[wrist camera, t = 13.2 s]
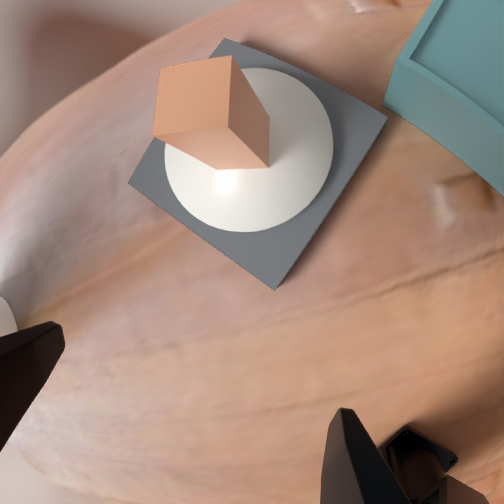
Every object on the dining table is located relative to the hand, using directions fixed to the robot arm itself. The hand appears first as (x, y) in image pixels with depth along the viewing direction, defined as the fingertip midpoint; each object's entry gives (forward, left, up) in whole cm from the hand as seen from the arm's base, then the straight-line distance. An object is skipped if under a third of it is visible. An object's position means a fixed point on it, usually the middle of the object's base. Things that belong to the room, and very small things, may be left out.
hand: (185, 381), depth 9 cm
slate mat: (+6, -7, -12) cm, 15 cm away
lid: (+6, -7, -10) cm, 14 cm away
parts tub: (-5, -20, -12) cm, 24 cm away
